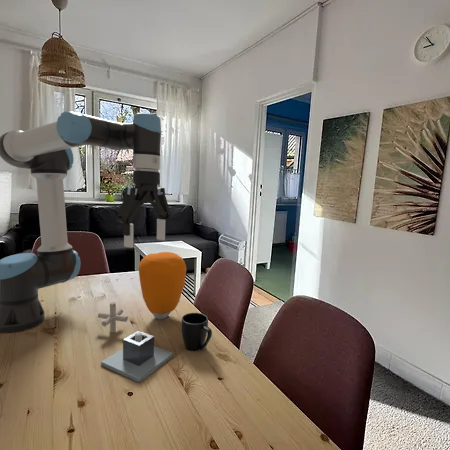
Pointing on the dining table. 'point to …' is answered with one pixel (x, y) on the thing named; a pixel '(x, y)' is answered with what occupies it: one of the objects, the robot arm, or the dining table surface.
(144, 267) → the orange egg-shaped ornament
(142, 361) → the collar
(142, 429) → the dining table surface
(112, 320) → the light grey toy jack
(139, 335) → the post block
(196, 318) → the mug
